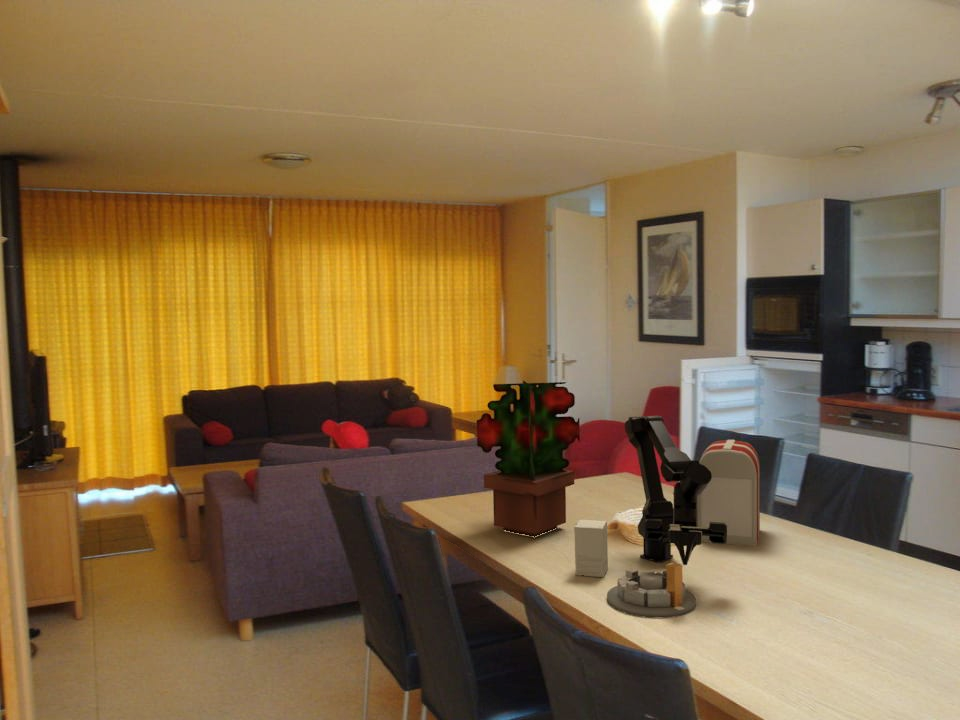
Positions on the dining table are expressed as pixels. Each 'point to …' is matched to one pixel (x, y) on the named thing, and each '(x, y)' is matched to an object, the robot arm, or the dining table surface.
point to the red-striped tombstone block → (732, 491)
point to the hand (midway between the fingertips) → (685, 564)
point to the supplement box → (591, 548)
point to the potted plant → (529, 455)
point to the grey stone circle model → (648, 584)
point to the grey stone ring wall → (653, 598)
